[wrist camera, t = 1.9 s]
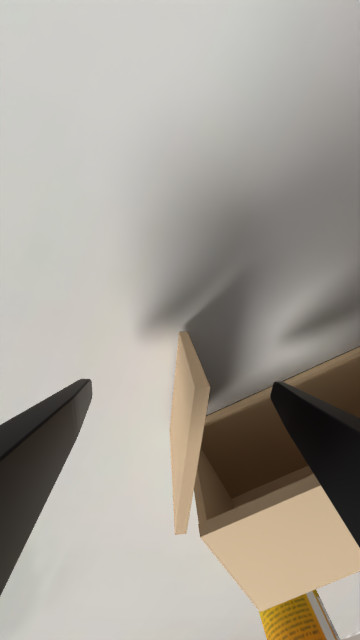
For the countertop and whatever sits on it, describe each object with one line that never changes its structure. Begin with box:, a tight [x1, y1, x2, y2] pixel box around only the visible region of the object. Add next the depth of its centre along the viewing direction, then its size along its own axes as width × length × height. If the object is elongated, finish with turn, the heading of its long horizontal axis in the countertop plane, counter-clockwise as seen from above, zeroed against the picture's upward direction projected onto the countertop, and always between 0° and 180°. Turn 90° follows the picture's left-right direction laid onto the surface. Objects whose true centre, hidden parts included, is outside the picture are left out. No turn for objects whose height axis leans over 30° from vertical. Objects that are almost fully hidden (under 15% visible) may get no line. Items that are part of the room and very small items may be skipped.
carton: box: [194, 347, 360, 612], centre depth 11 cm, size 16×10×6 cm, turn 115°
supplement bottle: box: [259, 589, 340, 640], centre depth 14 cm, size 5×5×10 cm
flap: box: [170, 332, 211, 535], centre depth 9 cm, size 8×1×5 cm, turn 175°
